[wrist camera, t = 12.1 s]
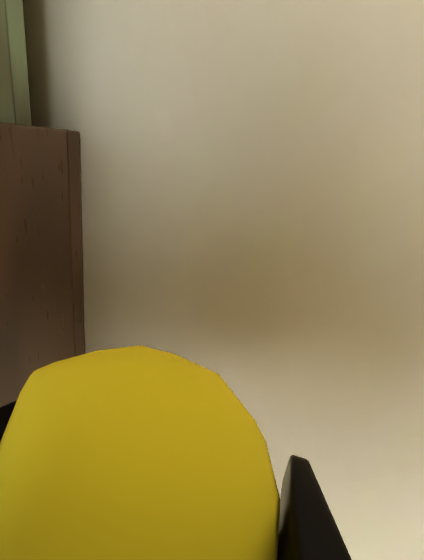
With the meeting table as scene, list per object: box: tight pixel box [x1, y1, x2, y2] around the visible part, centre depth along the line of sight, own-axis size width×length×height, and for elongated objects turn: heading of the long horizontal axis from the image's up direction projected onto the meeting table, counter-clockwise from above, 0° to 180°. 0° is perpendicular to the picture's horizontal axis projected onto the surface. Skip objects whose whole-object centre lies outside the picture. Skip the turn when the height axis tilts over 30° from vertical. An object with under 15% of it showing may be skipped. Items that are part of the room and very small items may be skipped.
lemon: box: [0, 345, 280, 560], centre depth 7 cm, size 7×5×5 cm
